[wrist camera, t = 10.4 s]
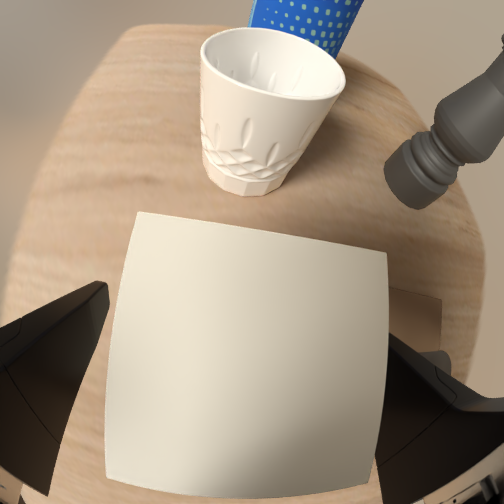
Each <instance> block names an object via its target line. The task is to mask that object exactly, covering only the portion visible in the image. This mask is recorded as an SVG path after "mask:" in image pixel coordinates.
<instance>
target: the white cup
mask: <svg viewBox="0 0 504 504" xmlns="http://www.w3.org/2000/svg"><path fill="white" fill-rule="evenodd" d="M345 83H346V78H345V74H344V72H343V70H342V68H341V67H340V65H339V64H338V63H337V62H336V60H335V59H334V58H333V57H331V56H330V55H329V54H328V53H327V52H325V51H324V50H323V49H321V48H320V47H318V46H316V45H315V44H313V43H311V42H309V41H307V40H305V39H302V38H300V37H297V36H295V35H292V34H289V33H285V32H282V31H277V30H272V29H266V28H253V27H247V28H235V29H229V30H225V31H222V32H219V33H216V34H214V35H212V36H211V37H209V38H208V39H207V40H206V41H205V42H204V43H203V45H202V47H201V52H200V120H201V138H202V144H203V164H204V166H205V169H206V171H207V174H208V177H209V178H210V179H211V180H212V181H213V182H215V183H216V184H217V185H218V186H219V187H220V188H221V189H223V190H224V191H227V192H230V193H233V194H236V195H239V196H242V197H246V196H263V195H265V194H267V193H269V192H271V191H273V190H275V189H277V188H279V187H280V185H281V184H282V182H283V180H284V179H285V177H286V176H287V174H288V173H289V171H290V169H291V168H292V167H293V165H294V164H296V163H297V161H298V160H299V158H300V156H301V155H302V154H303V152H304V151H305V150H306V148H307V146H308V145H309V143H310V141H311V140H312V138H313V136H314V135H315V133H316V132H317V130H318V129H319V127H320V126H321V124H322V122H323V121H324V119H325V117H326V116H327V114H328V113H329V111H330V109H331V108H332V106H333V105H334V103H335V102H336V100H337V98H338V97H339V95H340V94H341V92H342V90H343V89H344V87H345Z"/></svg>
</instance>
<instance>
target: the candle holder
mask: <svg viewBox="0 0 504 504" xmlns="http://www.w3.org/2000/svg"><path fill="white" fill-rule="evenodd" d="M501 39H502V42H503V44H504V34H503V35H502V38H501ZM502 49H503V51H502V52H501V54H500V55H499V56H498V57H497V58H496V60H495V61H494V62H493V63H492V64H491V65H490V67H489V68H488V69H487V70H486V71H485V73H483V74H482V75H480V76H478V77H477V78H475V79H474V80H472V81H471V82H469V83H467V84H466V85H464V86H463V87H461V88H460V89H458V90H457V91H455V92H453V93H452V94H450V95H449V96H447V97H445V98H444V99H442V100H441V101H440V102H439V103H438V105H437V107H436V109H435V115H434V124H433V125H432V126H431V131H425V132H417V133H416V134H415V135H413V136H412V138H411V140H406V141H405V142H404V143H402V145H401V146H400V147H399V148H398V149H397V150H396V151H395V152H394V153H393V154H392V155H391V157H390V158H389V159H388V160H387V161H386V162H385V166H384V174H385V178H386V181H387V183H388V185H389V187H390V189H391V191H392V192H393V193H394V194H395V195H396V197H397V198H398V199H399V200H400V201H401V202H403V203H404V204H405V205H407V206H408V207H410V208H414V209H417V210H419V209H423V208H425V207H426V206H428V205H429V204H431V203H432V202H433V201H435V200H436V199H437V198H439V197H440V196H441V195H443V194H444V193H445V192H446V190H447V188H448V185H451V184H453V183H454V181H455V179H456V177H457V171H458V167H459V166H464V165H465V163H481V162H483V161H485V160H487V159H488V158H489V157H490V156H491V154H492V153H493V151H494V150H495V148H496V147H497V145H498V144H499V142H500V141H501V139H502V138H503V136H504V46H503V47H502Z"/></svg>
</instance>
